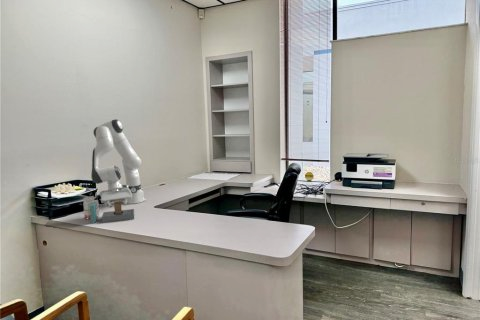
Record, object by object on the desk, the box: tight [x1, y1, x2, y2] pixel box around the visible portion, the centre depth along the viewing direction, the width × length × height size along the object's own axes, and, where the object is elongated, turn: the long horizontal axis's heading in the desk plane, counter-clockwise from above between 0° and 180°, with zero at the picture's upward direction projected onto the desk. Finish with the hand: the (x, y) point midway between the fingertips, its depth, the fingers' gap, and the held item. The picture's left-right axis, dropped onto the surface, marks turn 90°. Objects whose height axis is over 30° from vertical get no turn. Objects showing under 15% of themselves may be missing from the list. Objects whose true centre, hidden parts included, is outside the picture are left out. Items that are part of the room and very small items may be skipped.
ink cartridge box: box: [83, 195, 100, 220], centre depth 228 cm, size 9×5×15 cm, turn 149°
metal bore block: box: [101, 208, 135, 223], centre depth 224 cm, size 12×20×4 cm, turn 108°
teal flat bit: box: [90, 203, 98, 224], centre depth 218 cm, size 7×2×12 cm, turn 18°
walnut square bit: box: [113, 201, 123, 214], centre depth 224 cm, size 4×4×12 cm
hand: (118, 205), depth 223 cm, fingers open, 8 cm apart
